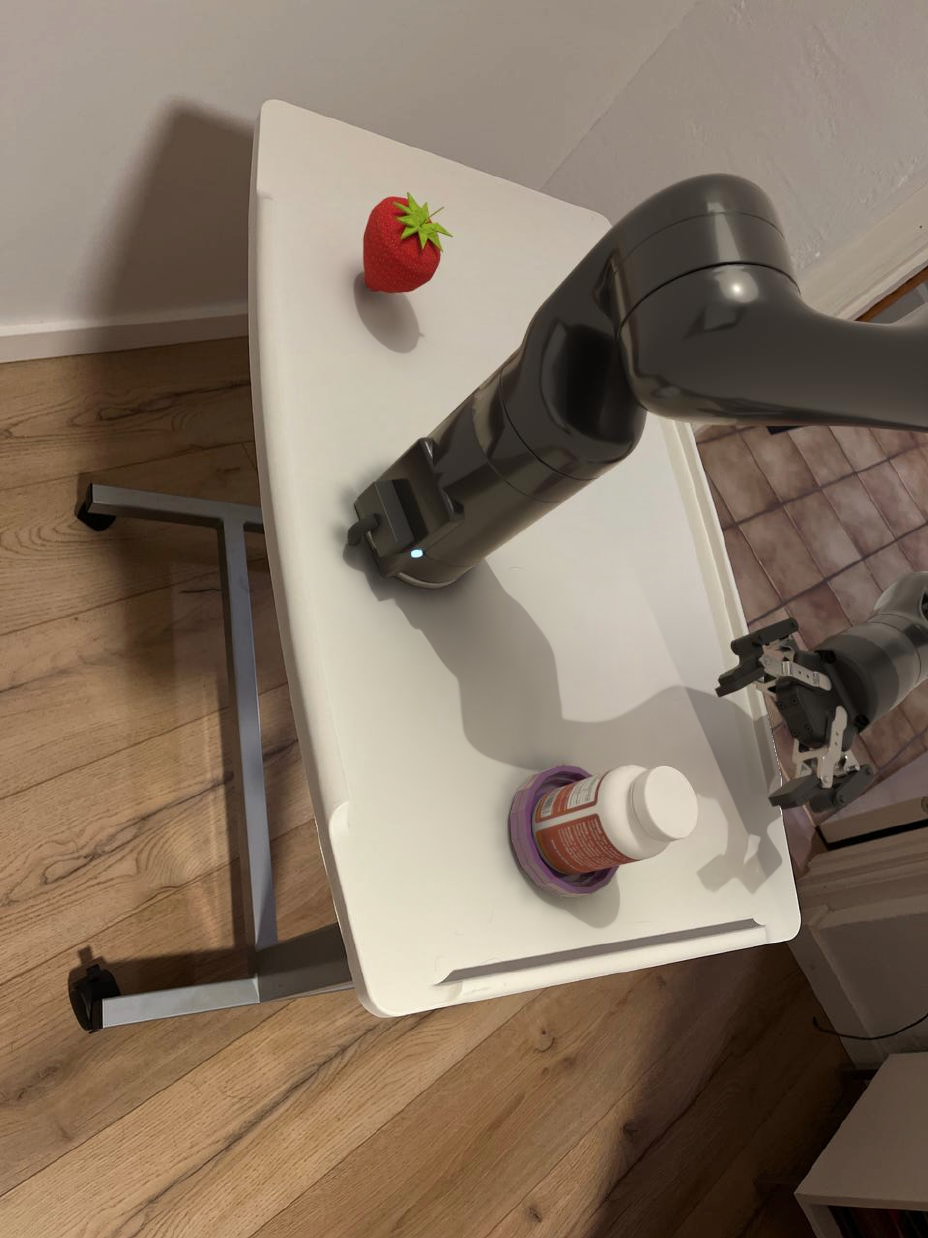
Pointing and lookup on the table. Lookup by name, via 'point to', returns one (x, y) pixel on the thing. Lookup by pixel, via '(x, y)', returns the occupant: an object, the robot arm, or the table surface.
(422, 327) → the table surface
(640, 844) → the pill bottle
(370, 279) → the strawberry
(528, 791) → the plum lid
